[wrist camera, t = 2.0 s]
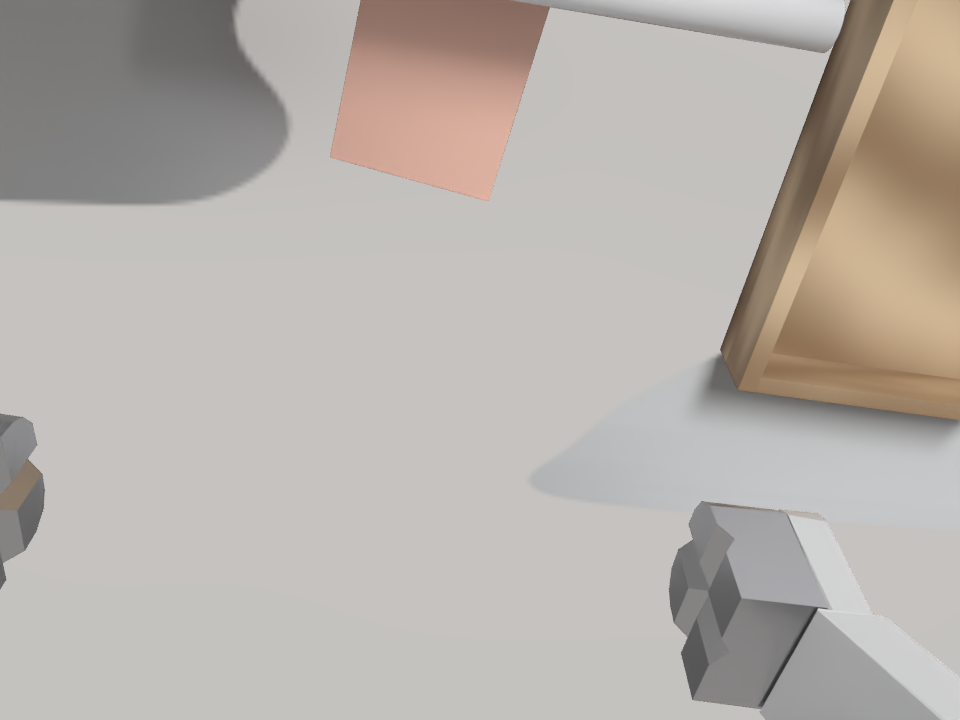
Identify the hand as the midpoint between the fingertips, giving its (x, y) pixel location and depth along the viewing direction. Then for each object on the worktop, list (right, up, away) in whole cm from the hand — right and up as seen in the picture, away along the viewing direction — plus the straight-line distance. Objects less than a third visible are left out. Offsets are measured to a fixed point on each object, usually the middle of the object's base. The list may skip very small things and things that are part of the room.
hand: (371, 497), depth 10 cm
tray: (+16, +8, +15) cm, 24 cm away
